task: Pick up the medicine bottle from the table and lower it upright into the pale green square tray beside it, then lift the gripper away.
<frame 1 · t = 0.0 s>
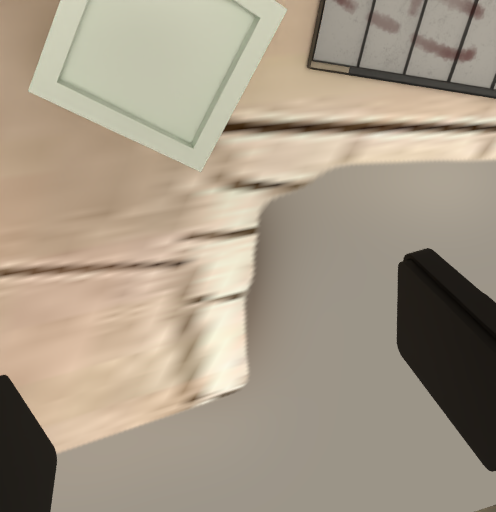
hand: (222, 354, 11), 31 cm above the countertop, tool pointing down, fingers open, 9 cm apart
pale green square tray: (157, 45, 35), on the countertop
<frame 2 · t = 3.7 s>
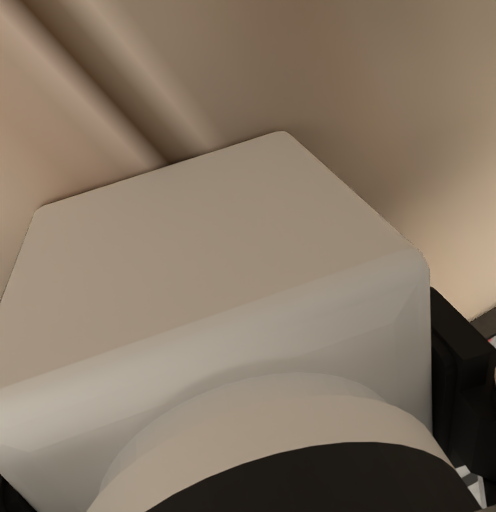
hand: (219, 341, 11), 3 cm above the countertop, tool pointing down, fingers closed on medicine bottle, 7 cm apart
medicine bottle: (198, 266, 14), on the countertop, touching gripper
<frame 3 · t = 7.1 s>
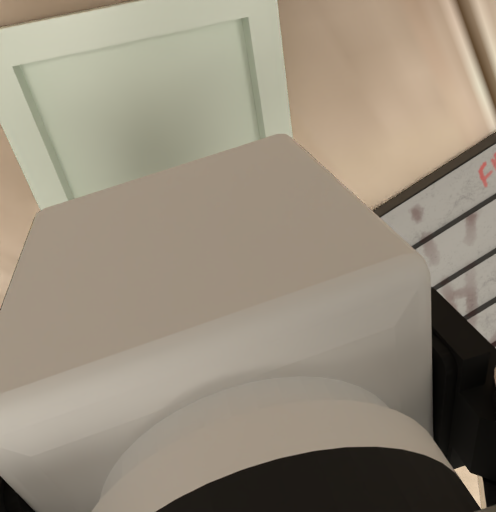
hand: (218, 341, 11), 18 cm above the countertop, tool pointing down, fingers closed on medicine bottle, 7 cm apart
pale green square tray: (161, 140, 26), on the countertop
medicine bottle: (199, 268, 14), point 14 cm above the countertop, touching gripper
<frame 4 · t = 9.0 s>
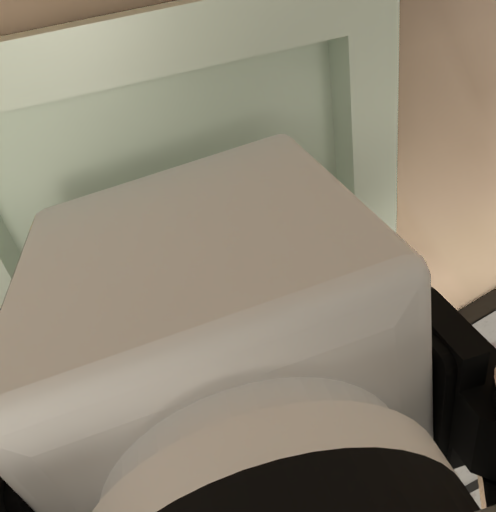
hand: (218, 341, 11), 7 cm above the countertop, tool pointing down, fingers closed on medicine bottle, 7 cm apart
pale green square tray: (187, 221, 17), on the countertop
medicine bottle: (199, 268, 14), point 3 cm above the countertop, touching gripper
when the fingers open (5 cm above the countertop, at t = 10.4 s): medicine bottle stays where it is, resting on pale green square tray.
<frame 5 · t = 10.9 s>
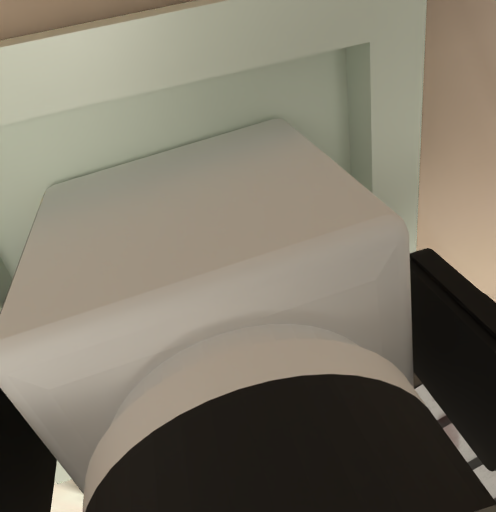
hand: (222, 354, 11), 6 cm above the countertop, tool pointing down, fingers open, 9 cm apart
pale green square tray: (191, 240, 16), on the countertop
medicine bottle: (198, 247, 15), point 1 cm above the countertop, touching pale green square tray
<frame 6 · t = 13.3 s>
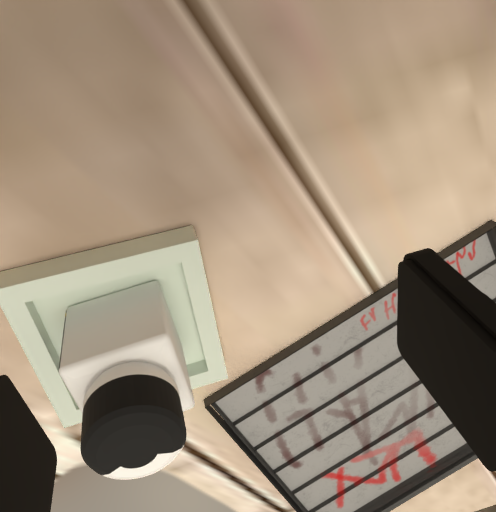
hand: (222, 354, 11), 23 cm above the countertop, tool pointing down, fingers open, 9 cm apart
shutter: (391, 394, 52), on the countertop
pale green square tray: (125, 321, 37), on the countertop
medicine bottle: (127, 325, 36), point 1 cm above the countertop, touching pale green square tray
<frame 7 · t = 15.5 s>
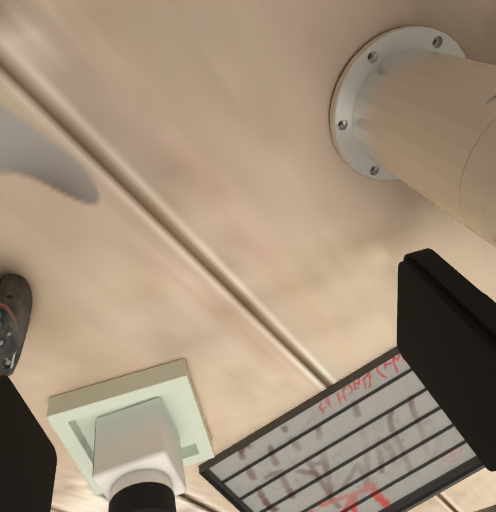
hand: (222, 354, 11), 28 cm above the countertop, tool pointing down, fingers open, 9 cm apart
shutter: (351, 453, 65), on the countertop
pale green square tray: (137, 420, 51), on the countertop
medicine bottle: (139, 425, 50), point 1 cm above the countertop, touching pale green square tray
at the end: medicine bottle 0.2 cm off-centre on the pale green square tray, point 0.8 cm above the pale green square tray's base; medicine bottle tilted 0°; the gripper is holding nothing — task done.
